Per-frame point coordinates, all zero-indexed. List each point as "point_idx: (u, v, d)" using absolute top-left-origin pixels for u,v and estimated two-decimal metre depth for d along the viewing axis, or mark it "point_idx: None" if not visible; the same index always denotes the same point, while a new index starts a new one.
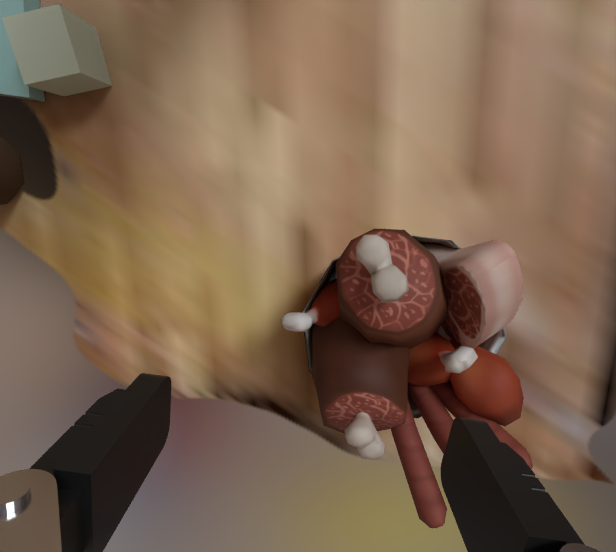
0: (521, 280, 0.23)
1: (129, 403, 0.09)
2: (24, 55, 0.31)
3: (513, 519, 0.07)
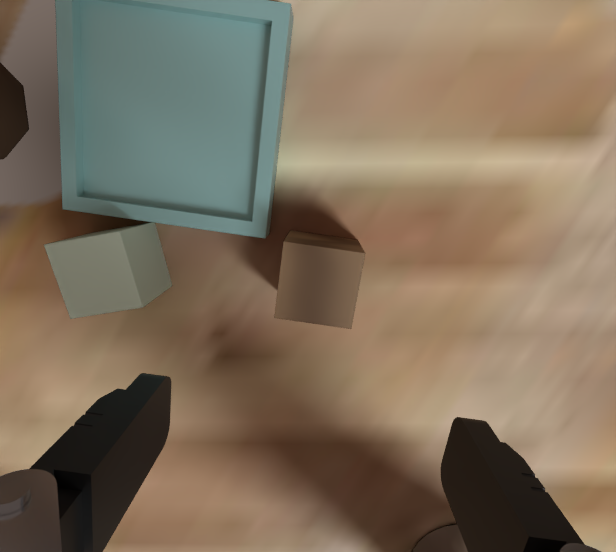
0: None
1: (129, 403, 0.09)
2: (79, 252, 0.23)
3: (513, 520, 0.07)
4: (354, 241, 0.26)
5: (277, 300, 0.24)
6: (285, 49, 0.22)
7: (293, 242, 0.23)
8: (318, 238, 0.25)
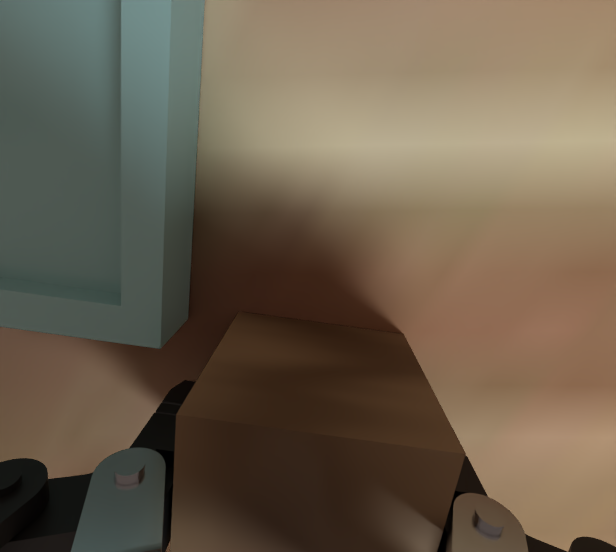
0: None
1: None
2: None
3: None
4: (399, 347, 0.10)
5: None
6: None
7: (214, 411, 0.07)
8: (305, 351, 0.09)
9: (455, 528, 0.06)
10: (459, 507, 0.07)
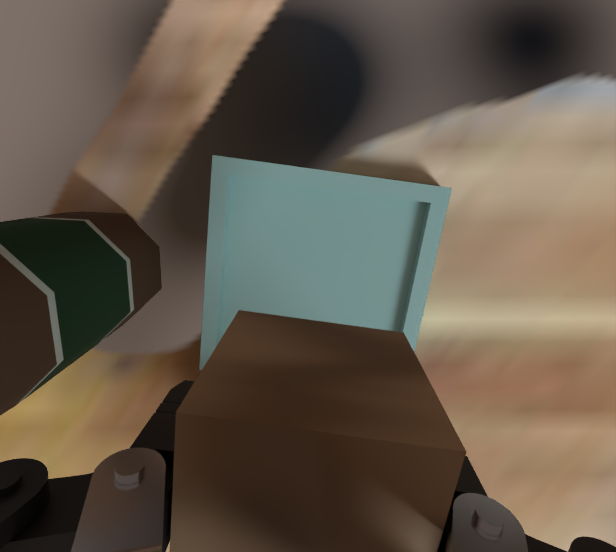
0: None
1: None
2: None
3: None
4: (400, 346, 0.10)
5: None
6: (441, 228, 0.22)
7: (213, 409, 0.07)
8: (305, 350, 0.09)
9: (455, 528, 0.06)
10: (459, 507, 0.07)
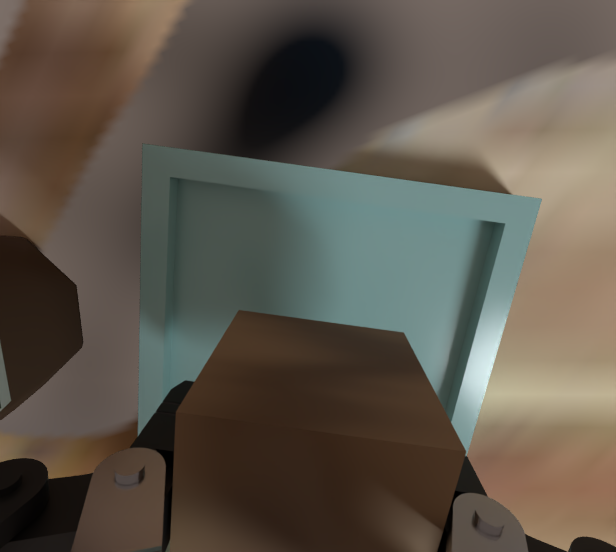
0: None
1: None
2: None
3: None
4: (400, 346, 0.10)
5: None
6: (520, 264, 0.14)
7: (213, 409, 0.07)
8: (305, 350, 0.09)
9: (455, 528, 0.06)
10: (459, 507, 0.07)
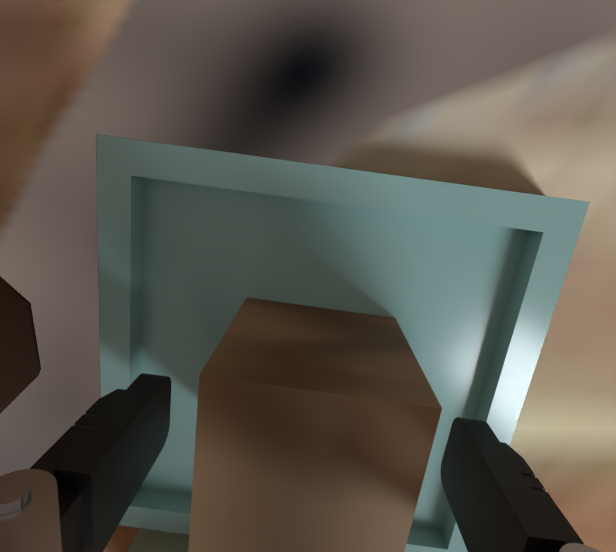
0: None
1: (129, 403, 0.09)
2: None
3: (512, 519, 0.07)
4: (391, 328, 0.11)
5: (193, 521, 0.09)
6: (560, 281, 0.11)
7: (230, 373, 0.08)
8: (307, 330, 0.10)
9: None
10: None
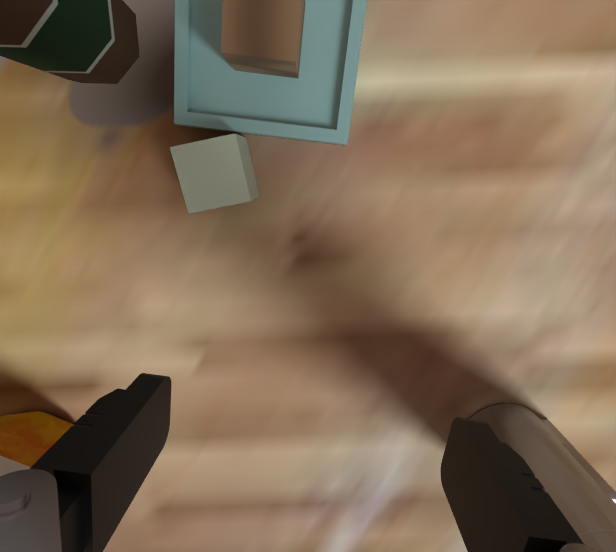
0: None
1: (129, 403, 0.09)
2: (199, 152, 0.28)
3: (513, 519, 0.07)
4: None
5: (222, 31, 0.24)
6: None
7: None
8: None
9: None
10: None
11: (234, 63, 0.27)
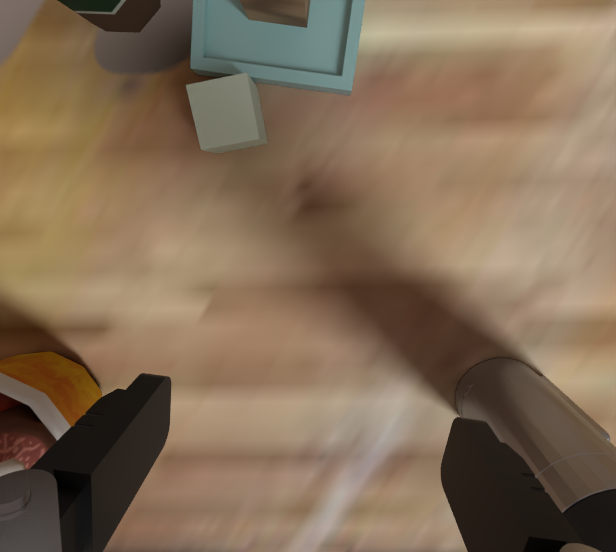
0: None
1: (129, 403, 0.09)
2: (213, 91, 0.30)
3: (512, 520, 0.07)
4: None
5: None
6: None
7: None
8: None
9: None
10: None
11: (248, 8, 0.29)
